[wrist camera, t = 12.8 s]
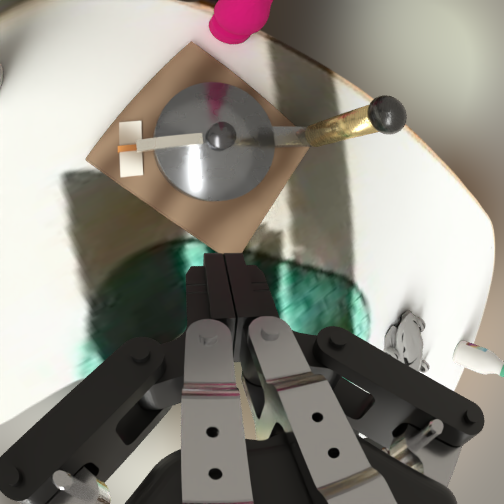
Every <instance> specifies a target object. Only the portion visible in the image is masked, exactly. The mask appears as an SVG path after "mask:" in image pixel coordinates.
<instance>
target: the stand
mask: <svg viewBox="0 0 504 504" xmlns="http://www.w3.org/2000/svg"><path fill="white" fill-rule="evenodd" d="M205 82H220V83H225V84H229V85H232V86H235V87H237V88H240V89H242V90H243V91H245V92H247V93H248V94H249V95H251V96H252V97H253V98H254V99H255V100H256V101H257V102H258V103H259V104H260V105H261V106H262V108H263V109H264V111H265V112H266V114H267V115H268V118H269V120H270V122H271V125H272V126H286V127H296V126H295V125H294V124H293V123H291V122H290V121H289V120H288V119H287V118H286V117H285V116H284V115H283V114H282V113H281V112H279V111H278V110H277V109H276V108H275V107H274V106H273V105H272V104H270V103H269V102H268V101H267V100H266V99H265V98H263V97H262V96H261V95H260V94H259V93H258V92H256V91H255V90H254V89H253V88H252V87H250V86H249V85H248V84H247V83H246V82H244V81H243V80H242V79H241V78H239V77H238V76H237V75H236V74H234V73H233V72H232V71H231V70H229V69H228V68H227V67H225V66H224V65H223V64H222V63H220V62H219V61H218V60H216V59H215V58H214V57H212V56H211V55H210V54H208V53H207V52H205V51H204V50H203V49H201V48H200V47H199V46H197V45H196V44H194V43H193V42H190V43H189V44H188V45H186V46H185V47H184V48H183V49H182V50H181V51H180V52H179V53H178V54H177V55H176V56H174V57H173V58H172V59H171V60H170V61H169V62H168V63H167V64H166V65H165V66H164V67H163V68H162V69H161V70H160V71H159V72H158V73H157V74H156V75H155V76H154V77H153V78H152V79H151V80H150V81H149V82H148V83H147V84H146V85H145V86H144V88H143V89H142V90H141V91H140V92H139V93H138V94H137V95H136V96H135V97H134V99H133V100H132V101H131V102H130V103H129V104H128V105H127V106H126V108H125V109H124V110H123V111H122V112H121V113H120V115H119V116H118V117H117V118H116V120H115V121H114V122H113V123H112V124H111V126H110V127H109V128H108V129H107V131H106V132H105V133H104V135H103V136H102V137H101V138H100V140H99V141H98V142H97V144H96V145H95V146H94V148H93V149H92V150H91V152H90V153H89V155H88V156H87V157H86V161H87V162H89V163H90V164H91V165H93V166H94V167H96V168H97V169H98V170H100V171H101V172H103V173H104V174H105V175H107V176H108V177H110V178H111V179H112V180H114V181H115V182H117V183H118V184H119V185H121V186H122V187H124V188H125V189H127V190H128V191H129V192H131V193H132V194H134V195H135V196H136V197H138V198H139V199H141V200H142V201H144V202H145V203H146V204H148V205H149V206H151V207H152V208H154V209H155V210H157V211H158V212H159V213H161V214H162V215H164V216H165V217H167V218H168V219H169V220H171V221H172V222H174V223H175V224H177V225H178V226H180V227H181V228H183V229H184V230H185V231H187V232H188V233H190V234H191V235H193V236H194V237H196V238H197V239H199V240H200V241H202V242H203V243H204V244H206V245H207V246H209V247H210V248H212V249H213V250H215V251H216V252H218V253H242V252H243V250H244V248H245V247H246V245H247V244H248V242H249V241H250V239H251V237H252V236H253V234H254V233H255V231H256V230H257V228H258V226H259V225H260V223H261V222H262V220H263V219H264V217H265V215H266V214H267V212H268V211H269V209H270V208H271V206H272V205H273V203H274V201H275V200H276V198H277V197H278V195H279V194H280V192H281V191H282V189H283V187H284V186H285V184H286V183H287V181H288V180H289V178H290V177H291V175H292V173H293V172H294V170H295V169H296V167H297V166H298V164H299V163H300V161H301V160H302V158H303V156H304V155H305V153H306V152H307V150H308V149H309V147H277V148H275V151H274V157H273V160H272V164H271V166H270V168H269V171H268V172H267V174H266V176H265V177H264V179H263V180H262V181H261V182H260V183H259V184H258V185H257V186H256V187H255V188H254V189H252V190H251V191H250V192H248V193H246V194H244V195H243V196H240V197H237V198H235V199H230V200H225V201H214V202H209V201H201V200H196V199H193V198H190V197H188V196H186V195H184V194H182V193H180V192H179V191H177V190H176V189H175V188H173V187H172V186H171V185H170V184H169V183H168V182H167V181H166V179H165V178H164V177H163V175H162V174H161V172H160V170H159V168H158V166H157V164H156V161H155V158H154V153H153V150H152V151H145V152H139V153H137V148H136V140H141V139H148V138H153V134H154V130H155V126H156V124H157V121H158V119H159V116H160V114H161V112H162V110H163V109H164V107H165V106H166V104H167V103H168V102H169V101H170V100H171V99H172V98H173V97H174V96H175V95H176V94H178V93H179V92H180V91H182V90H184V89H186V88H188V87H190V86H193V85H196V84H200V83H205Z"/></svg>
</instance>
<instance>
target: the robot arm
mask: <svg viewBox="0 0 504 504" xmlns="http://www.w3.org/2000/svg"><path fill="white" fill-rule="evenodd" d="M2 80H3V68H2V65H1V64H0V87H1V84H2ZM186 298H187V328H186V330H185V332H184V333H183V334H182V335H181V336H180V337H179V338H177V339H175V340H173V341H171V342H167V343H164V344H161V345H160V344H159V343H158V342H157V341H155V340H153V339H151V338H147V337H137V338H133V339H130V340H128V341H127V342H125V343H124V344H123V345H122V346H121V347H120V348H118V349H117V350H116V351H115V352H114V353H113V354H112V355H111V356H110V357H108V358H107V359H106V360H105V361H104V362H103V363H102V364H101V365H99V366H98V367H97V368H96V369H95V370H94V371H93V372H92V373H91V374H89V375H88V376H87V377H86V378H85V379H84V380H83V381H82V382H81V383H80V384H79V385H77V386H76V387H75V388H74V389H73V390H72V391H71V392H70V393H69V394H67V396H65V397H64V398H63V399H62V400H61V401H60V402H59V403H58V404H57V405H56V406H55V407H53V408H52V409H51V410H50V411H49V412H48V413H47V414H46V415H45V416H44V417H43V418H41V419H40V420H39V421H38V422H37V423H36V424H35V425H34V426H33V427H32V428H31V429H29V430H28V431H27V432H26V433H25V434H24V435H23V436H22V437H21V438H20V439H19V440H18V441H17V442H16V443H15V444H13V445H12V446H11V447H10V448H9V449H8V450H7V451H6V452H5V453H4V454H3V455H2V456H1V457H0V491H1V492H2V493H3V494H4V495H5V496H7V497H8V498H10V499H12V500H14V501H16V502H18V503H21V504H110V502H111V495H110V491H109V489H108V487H107V485H106V484H105V481H106V480H107V479H108V478H109V477H110V476H111V475H112V474H113V473H114V472H115V471H116V470H117V468H119V466H120V465H121V464H122V463H123V462H124V461H125V460H126V459H127V457H128V456H129V455H130V454H131V453H132V452H133V451H134V450H135V449H136V448H137V447H138V445H139V444H140V443H141V442H142V441H143V440H144V439H145V437H146V436H147V435H148V434H149V433H150V432H151V431H152V429H153V428H154V427H155V426H156V425H157V424H158V423H159V421H161V419H162V418H163V417H164V416H165V415H166V414H167V412H168V411H169V410H170V409H171V407H172V405H175V404H178V403H181V449H180V450H178V451H175V452H173V453H171V454H170V455H168V456H166V457H165V458H164V459H162V460H161V461H160V462H159V463H158V464H156V465H155V467H154V468H153V469H152V470H151V472H150V473H149V474H148V475H147V477H146V478H145V479H144V480H143V482H142V483H141V484H140V485H139V487H138V488H137V489H136V490H135V492H134V493H133V494H132V495H131V497H130V498H129V499H128V500H127V501H126V503H125V504H457V501H456V498H455V496H454V495H453V493H452V492H451V491H450V490H449V489H448V488H447V486H448V484H449V482H450V479H451V476H452V474H453V471H454V468H455V466H456V463H457V460H458V457H459V454H460V451H461V448H462V446H463V445H464V444H465V443H466V442H468V441H469V440H470V439H471V438H473V437H474V436H476V435H477V434H478V433H479V432H480V431H481V430H482V428H483V426H484V415H483V412H482V410H481V409H480V407H479V406H478V405H476V404H475V403H474V402H472V401H470V400H468V399H466V398H465V397H463V396H461V395H459V394H457V393H456V392H454V391H452V390H450V389H448V388H447V387H445V386H443V385H441V384H440V383H438V382H436V381H434V380H432V379H431V378H429V377H427V376H425V375H424V374H422V373H420V372H418V371H416V370H415V369H413V368H411V367H409V366H408V365H406V364H404V363H402V362H401V361H399V360H397V359H395V358H394V357H392V356H390V355H388V354H387V353H385V352H383V351H382V350H380V349H378V348H376V347H375V346H373V345H371V344H369V343H368V342H366V341H364V340H363V339H361V338H359V337H357V336H356V335H354V334H352V333H351V332H349V331H347V330H345V329H343V328H340V327H335V326H330V327H326V328H324V329H322V330H321V331H320V332H319V333H318V335H317V336H316V335H309V334H303V333H298V332H295V331H293V330H291V328H290V326H289V325H288V324H287V323H286V322H285V321H283V320H282V319H280V318H279V315H278V312H277V309H276V307H275V304H274V301H273V298H272V296H271V293H270V291H269V287H268V285H267V283H266V279H265V276H264V273H263V272H262V271H261V270H260V269H259V268H258V267H257V266H256V265H246V264H245V260H244V257H243V254H242V253H204V263H203V266H191V267H190V269H189V270H188V272H187V274H186ZM234 362H241V366H242V376H241V380H242V384H243V387H244V390H245V393H246V397H247V400H248V403H249V406H250V409H251V413H252V416H253V419H254V422H255V427H256V438H257V440H249V439H245V435H244V427H243V418H242V410H241V401H240V394H239V389H238V388H237V387H236V380H235V371H234ZM342 377H344V378H346V379H347V380H349V381H350V382H352V383H354V384H355V385H357V386H359V387H360V388H362V389H364V390H365V391H367V392H369V393H370V394H369V393H367V392H365V391H364V390H362V389H360V388H359V387H357V386H355V385H354V384H352V383H350V382H349V381H347V380H345V379H344V378H342ZM352 428H353V429H355V430H356V431H358V432H360V433H361V434H363V435H365V436H366V437H368V438H370V439H372V440H373V441H375V442H377V443H379V444H380V445H382V446H384V447H386V448H388V449H389V450H390V455H389V454H387V453H386V452H384V451H382V450H381V449H379V448H377V447H376V446H374V445H373V444H371V443H369V442H368V441H366V440H365V439H363V438H361V437H360V436H358V435H356V434H354V432H353V430H352Z"/></svg>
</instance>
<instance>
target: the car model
mask: <svg viewBox="0 0 504 504" xmlns="http://www.w3.org/2000/svg"><path fill="white" fill-rule="evenodd" d="M419 326H420V327H419ZM424 328H425V323H424V321H423V320H422V319H421V318H419V317H416V316H415V315H414V314H412V312H411V311H410V310H408V311H406V312H405V313H404V314H402V315H401V320H400V323H399V325H398V326H397V327H395V326H391V328H390V329H389V331H388V332H387V334H386V336H385V342H384V352H385V353H387V354H388V355H390V356H392V357H394V358H395V359H397V360H399V361H401V362H402V363H404V364H406V365H408V366H409V367H411V368H413V369H415V370H416V371H418V372H419V371H420V372H423V373H425V372H427V371H428V370H429V365H428V363H427V362H426V361H424V360H422V349H423V340H422V337H421V333H420V332H422V331H423V330H424Z"/></svg>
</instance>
